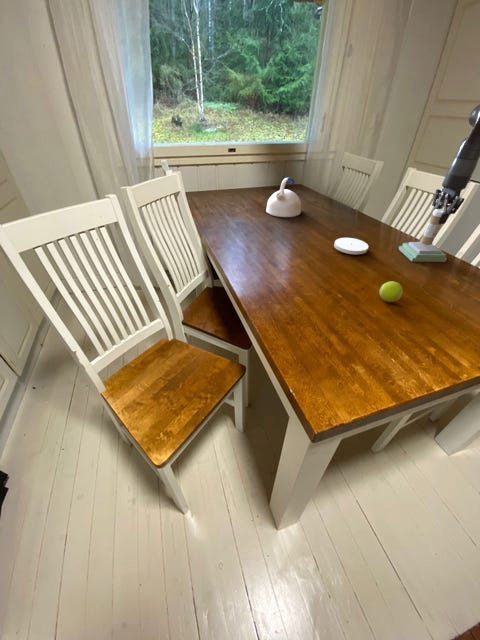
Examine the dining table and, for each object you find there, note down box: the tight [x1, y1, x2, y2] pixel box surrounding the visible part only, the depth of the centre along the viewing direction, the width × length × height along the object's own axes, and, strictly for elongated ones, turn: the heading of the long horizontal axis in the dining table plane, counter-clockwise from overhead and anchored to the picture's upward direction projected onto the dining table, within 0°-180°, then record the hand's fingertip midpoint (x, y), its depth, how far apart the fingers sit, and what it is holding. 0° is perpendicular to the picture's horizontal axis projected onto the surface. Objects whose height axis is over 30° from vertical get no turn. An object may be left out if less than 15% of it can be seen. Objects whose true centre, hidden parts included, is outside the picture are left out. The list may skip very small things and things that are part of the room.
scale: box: [398, 242, 448, 263], centre depth 115 cm, size 14×12×3 cm
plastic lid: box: [333, 237, 369, 255], centre depth 119 cm, size 14×14×2 cm
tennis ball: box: [378, 280, 404, 303], centre depth 88 cm, size 7×7×7 cm
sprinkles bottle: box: [419, 208, 444, 245], centre depth 109 cm, size 5×5×14 cm
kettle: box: [265, 177, 302, 218], centre depth 153 cm, size 20×21×18 cm
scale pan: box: [408, 241, 443, 254], centre depth 114 cm, size 9×9×2 cm
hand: (437, 221), depth 107 cm, fingers closed on sprinkles bottle, 4 cm apart
